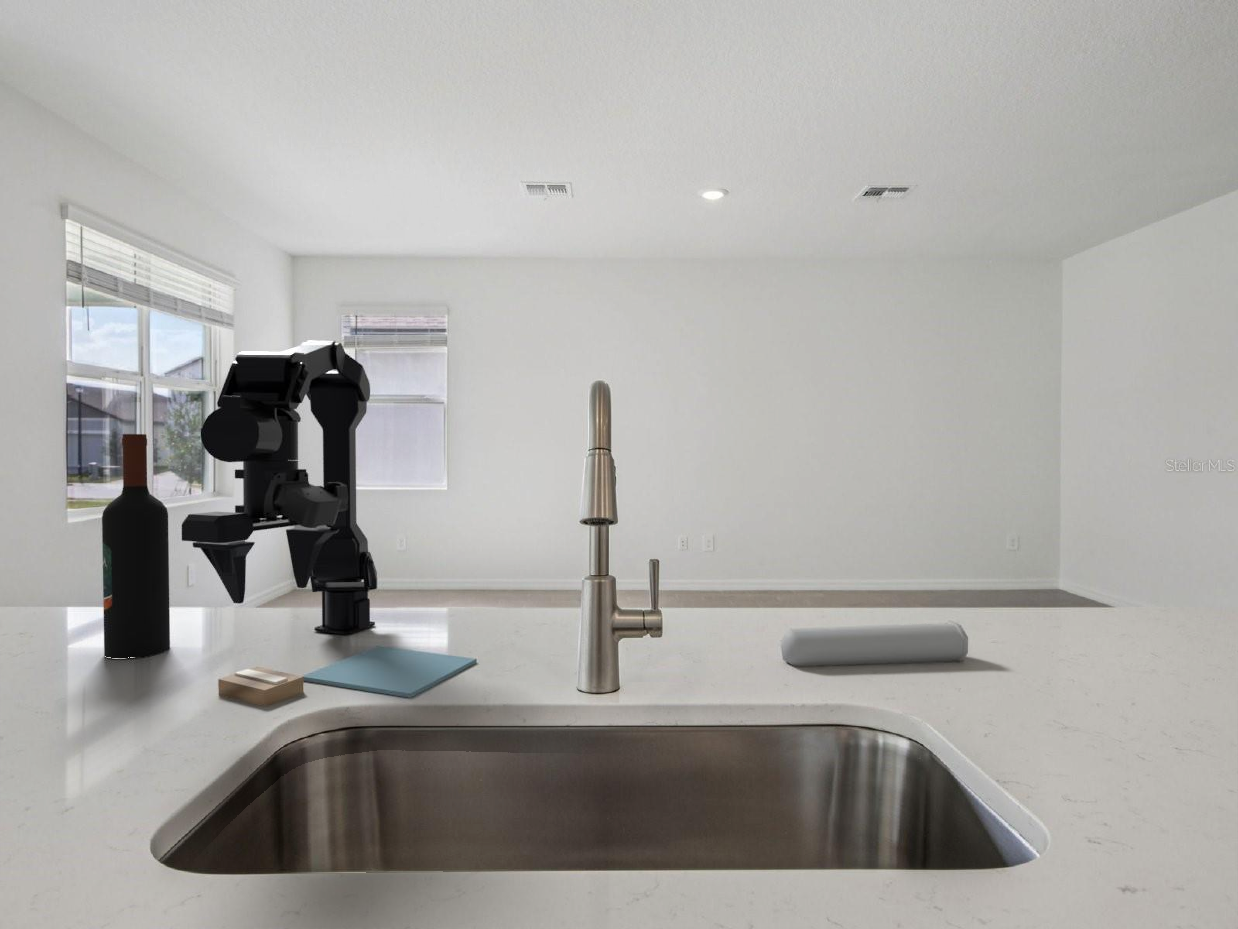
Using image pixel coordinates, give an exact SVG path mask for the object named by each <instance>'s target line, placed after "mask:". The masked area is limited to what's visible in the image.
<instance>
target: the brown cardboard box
mask: <svg viewBox="0 0 1238 929" xmlns="http://www.w3.org/2000/svg"><path fill="white" fill-rule="evenodd" d="M302 676H303V675H298V674H297V675H296V674H292V673H288V672H283V671H278V670H274V669H269V668H265V667H260V666H255V667H253V668H245V669H242V670H239V671H236V672H234V673H233V674H230V675H227V676H224V677H221V678H218V680H217V682H218V684H217V685H218V687H217V688H218V695H219V696H223V697H228V698H231V699H234V700H239V701H244V702H247V703H252V704H254V705H259V706H262V707H263V706H264V707H267V706H269V705H272V704H276V703H278V702H281V701H284V700H286V699H288V698H291V697H294V696H297V695H299V694H302V693H304V681H303V677H302Z"/></svg>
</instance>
